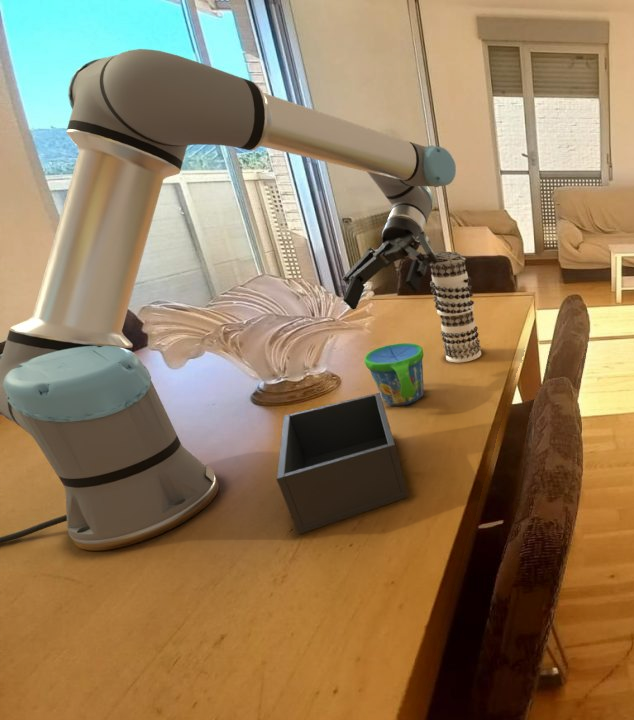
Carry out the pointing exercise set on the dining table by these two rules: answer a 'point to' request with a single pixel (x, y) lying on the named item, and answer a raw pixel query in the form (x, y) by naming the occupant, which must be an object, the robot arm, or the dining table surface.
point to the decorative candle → (455, 307)
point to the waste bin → (338, 462)
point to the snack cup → (397, 372)
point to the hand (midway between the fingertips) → (380, 295)
